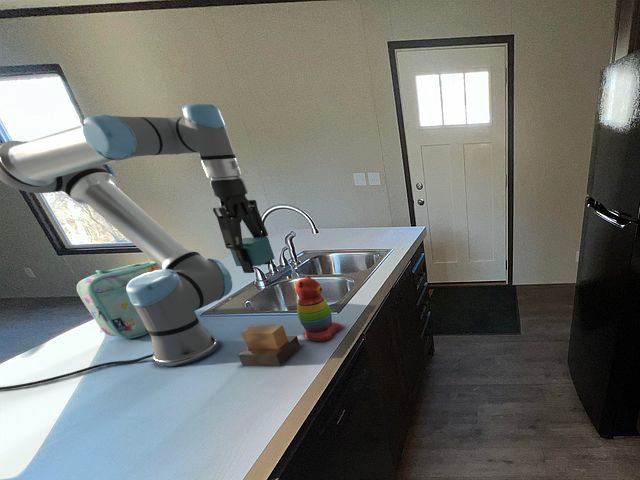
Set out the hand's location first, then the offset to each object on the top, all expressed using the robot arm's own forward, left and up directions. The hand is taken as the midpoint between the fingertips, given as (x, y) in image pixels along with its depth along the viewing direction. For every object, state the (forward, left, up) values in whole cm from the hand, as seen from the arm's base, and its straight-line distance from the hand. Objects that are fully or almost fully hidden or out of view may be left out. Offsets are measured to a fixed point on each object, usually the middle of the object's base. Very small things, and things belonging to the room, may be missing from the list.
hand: (258, 268), depth 106 cm
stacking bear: (+12, +2, -22) cm, 25 cm away
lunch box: (-50, +7, -22) cm, 55 cm away
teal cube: (0, 0, +2) cm, 2 cm away
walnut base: (+4, -12, -22) cm, 25 cm away
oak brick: (+4, -12, -18) cm, 22 cm away
